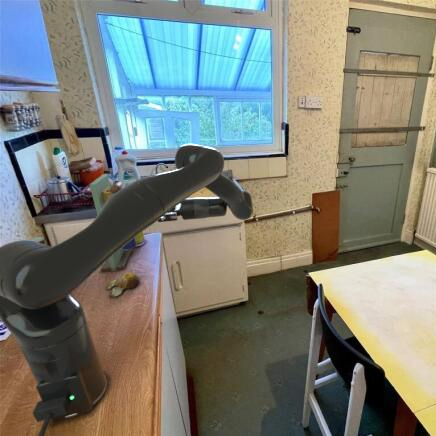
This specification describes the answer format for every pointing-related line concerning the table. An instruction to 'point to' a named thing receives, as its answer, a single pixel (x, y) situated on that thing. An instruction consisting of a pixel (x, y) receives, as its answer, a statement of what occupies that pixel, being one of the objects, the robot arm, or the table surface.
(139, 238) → the pill bottle
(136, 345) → the table surface
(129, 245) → the t-handle plunger
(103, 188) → the green panel
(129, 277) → the fruit
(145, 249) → the table surface
